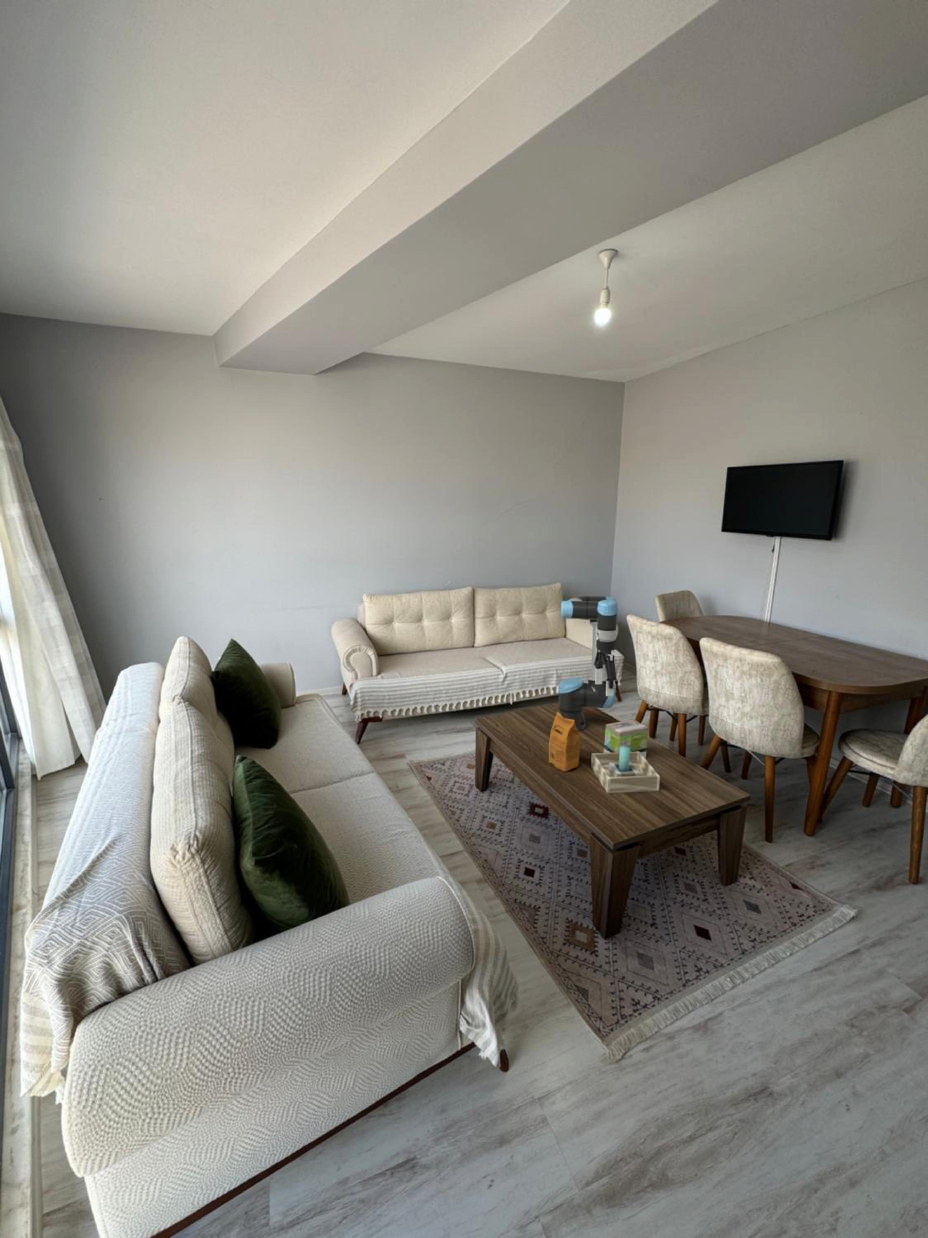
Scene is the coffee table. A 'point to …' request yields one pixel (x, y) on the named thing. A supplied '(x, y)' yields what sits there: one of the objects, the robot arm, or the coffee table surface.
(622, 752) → the peg
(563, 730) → the coffee package
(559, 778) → the coffee table surface
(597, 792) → the coffee table surface
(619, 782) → the open box
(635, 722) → the tea box
